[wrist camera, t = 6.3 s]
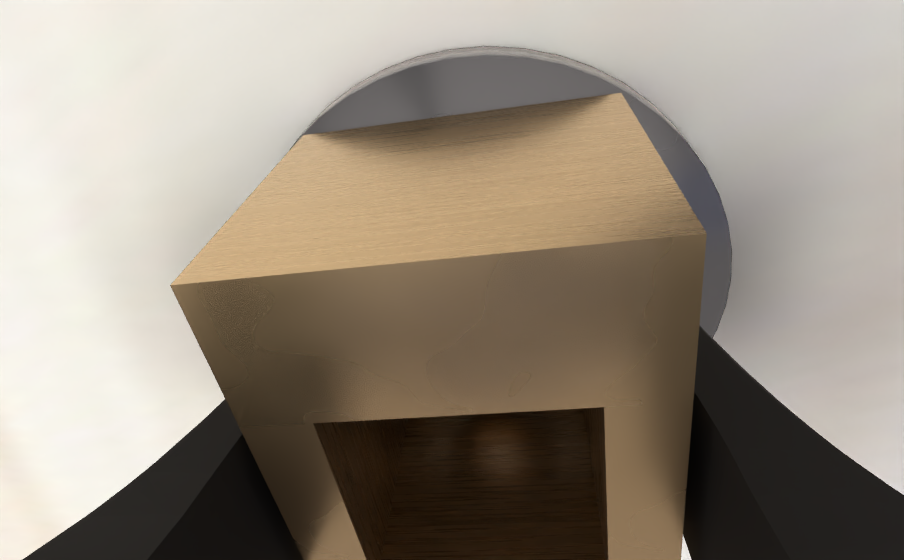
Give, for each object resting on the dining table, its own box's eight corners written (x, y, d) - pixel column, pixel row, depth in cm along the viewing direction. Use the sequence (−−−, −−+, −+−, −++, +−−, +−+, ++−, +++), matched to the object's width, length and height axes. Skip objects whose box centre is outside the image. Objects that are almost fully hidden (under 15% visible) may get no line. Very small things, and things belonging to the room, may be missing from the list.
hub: (827, 167, 11) (903, 232, 9) (580, 474, 17) (592, 561, 14) (328, -48, 10) (278, -32, 8) (233, 361, 15) (189, 439, 13)
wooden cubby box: (621, 92, 10) (706, 233, 6) (622, 430, 14) (673, 657, 10) (303, 134, 11) (171, 285, 6) (394, 442, 15) (350, 655, 11)
